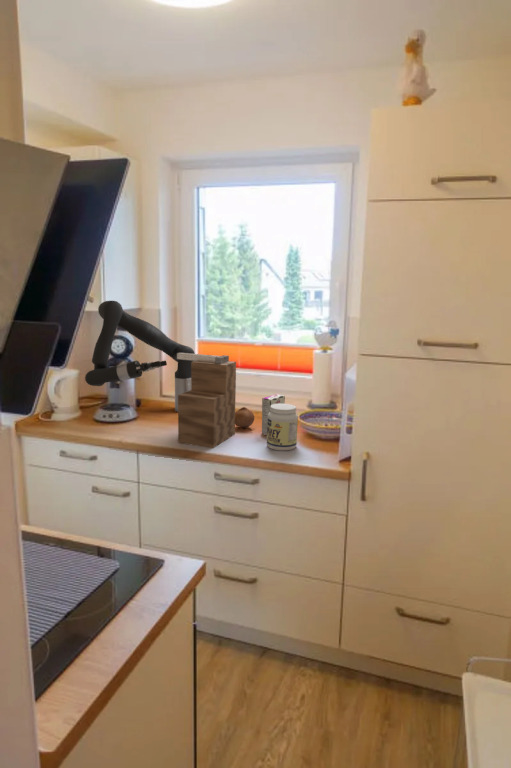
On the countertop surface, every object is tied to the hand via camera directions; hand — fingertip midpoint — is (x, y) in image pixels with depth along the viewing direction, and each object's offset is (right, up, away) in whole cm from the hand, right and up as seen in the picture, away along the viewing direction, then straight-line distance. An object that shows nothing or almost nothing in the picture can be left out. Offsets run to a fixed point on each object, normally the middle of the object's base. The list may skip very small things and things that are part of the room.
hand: (163, 363), depth 226 cm
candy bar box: (+49, -31, 0) cm, 58 cm away
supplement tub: (+52, -35, -19) cm, 65 cm away
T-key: (+18, +1, -10) cm, 21 cm away
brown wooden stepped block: (+21, -32, -11) cm, 40 cm away
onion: (+36, -30, +5) cm, 47 cm away
